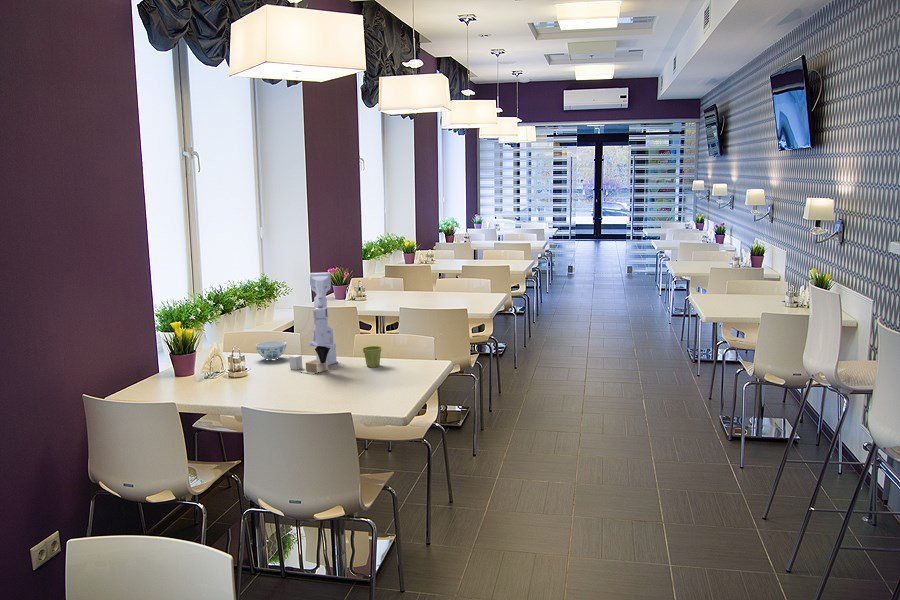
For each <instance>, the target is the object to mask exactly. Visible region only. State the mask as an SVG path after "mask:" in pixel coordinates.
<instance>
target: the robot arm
mask: <svg viewBox="0 0 900 600" xmlns="http://www.w3.org/2000/svg"><path fill="white" fill-rule="evenodd" d="M331 282H332V281H331V272H329V271H328V272H327V271H326V272H310V273H309V286H310V289H311V291H312V292H314V293H315V294H316V295H315V296H314V300H313V301H314V302H313V304H314V305H313V310H312V313H313V314H312V315H313V322H314V328H313V329H312V334H311V335H312V336H311V337H312V341H309V342H308V347H314V350H315V356H316V359H315V360H320V362H321V363H326V361H327V364H328V366H330V365H333V364H337V363H339V362H338V361H337V344H336V343H335V342H334V330H333V328H332V327H331V326H329V325H328V320H329V309H328V302H327V301H328V299H327V297H326V295H327V293H328V292H329V291H330V290H331V287H332V285H331V284H332V283H331Z"/></svg>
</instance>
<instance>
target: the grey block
mask: <svg viewBox="0 0 900 600" xmlns="http://www.w3.org/2000/svg"><path fill="white" fill-rule="evenodd" d="M302 357H303V356H302V355H299V354H294V355H290V356H289V369H290V368H291V369H290V370H294V369H298V370H300V369H299V368H301V369H303V358H302Z"/></svg>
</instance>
